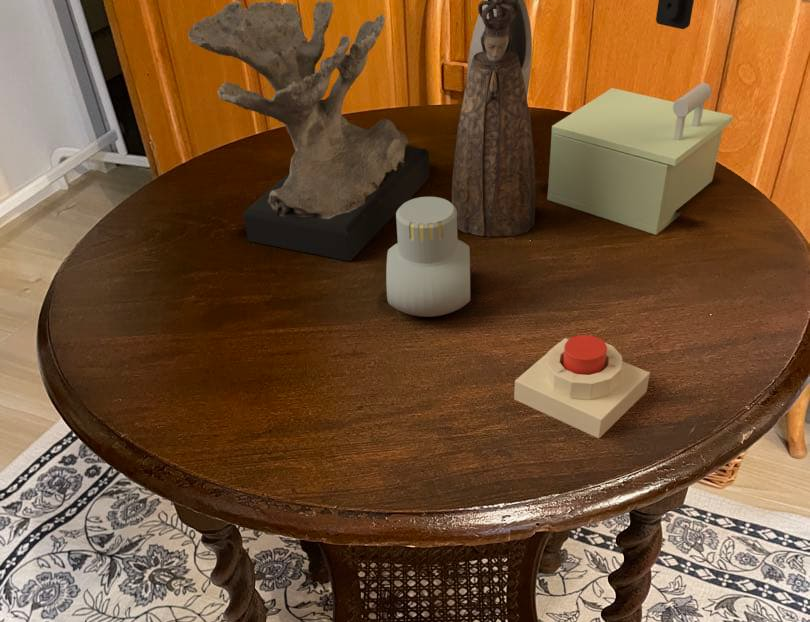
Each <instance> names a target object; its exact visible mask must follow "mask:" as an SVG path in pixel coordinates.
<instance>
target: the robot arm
mask: <svg viewBox="0 0 810 622" xmlns="http://www.w3.org/2000/svg"><path fill="white" fill-rule="evenodd" d="M694 3H695V0H658V2H657V8H656V9H657V10H656V15H655V21H656V23H657V24H658V25H661V26H666V27H671V28H675V29H680V30H685V29H688V27H690V25H691V19H692V14H693V7H694Z"/></svg>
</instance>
